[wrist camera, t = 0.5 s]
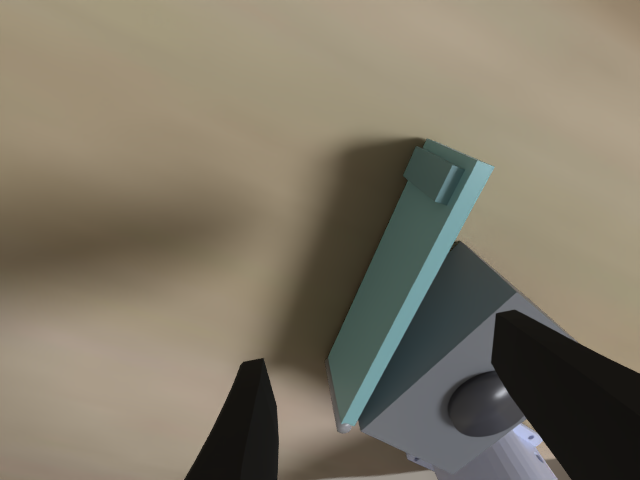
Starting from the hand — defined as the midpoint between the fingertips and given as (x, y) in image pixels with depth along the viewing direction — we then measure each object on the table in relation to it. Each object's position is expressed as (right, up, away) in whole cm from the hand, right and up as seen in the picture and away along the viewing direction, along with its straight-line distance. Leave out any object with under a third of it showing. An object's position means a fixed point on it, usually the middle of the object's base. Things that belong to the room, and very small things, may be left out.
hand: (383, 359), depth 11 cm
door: (+1, +2, +10) cm, 10 cm away
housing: (+6, -2, +13) cm, 15 cm away
